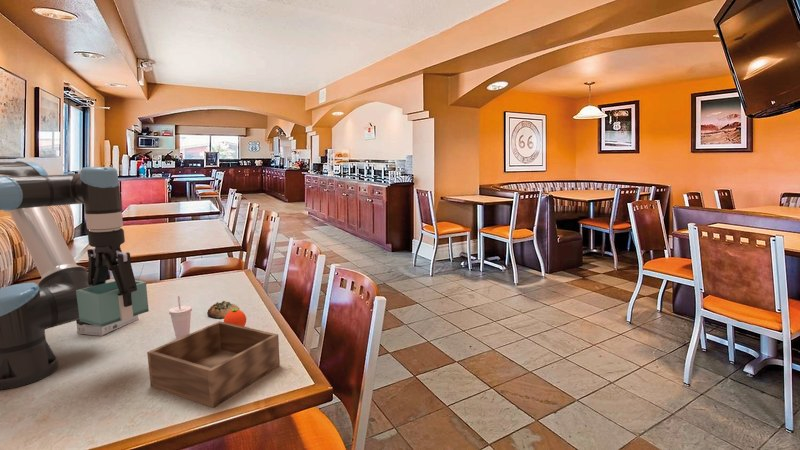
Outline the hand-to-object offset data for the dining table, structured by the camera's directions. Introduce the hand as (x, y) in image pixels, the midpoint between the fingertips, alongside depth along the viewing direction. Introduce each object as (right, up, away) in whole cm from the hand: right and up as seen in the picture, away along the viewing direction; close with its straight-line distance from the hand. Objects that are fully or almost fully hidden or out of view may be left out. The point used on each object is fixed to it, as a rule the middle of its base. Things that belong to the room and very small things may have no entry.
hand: (115, 314), depth 111 cm
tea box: (-24, -11, +34) cm, 43 cm away
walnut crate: (+26, -16, +1) cm, 31 cm away
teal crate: (0, 0, 0) cm, 0 cm away
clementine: (+20, -12, +31) cm, 38 cm away
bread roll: (+9, -9, +46) cm, 48 cm away
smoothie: (+5, -13, +24) cm, 28 cm away
